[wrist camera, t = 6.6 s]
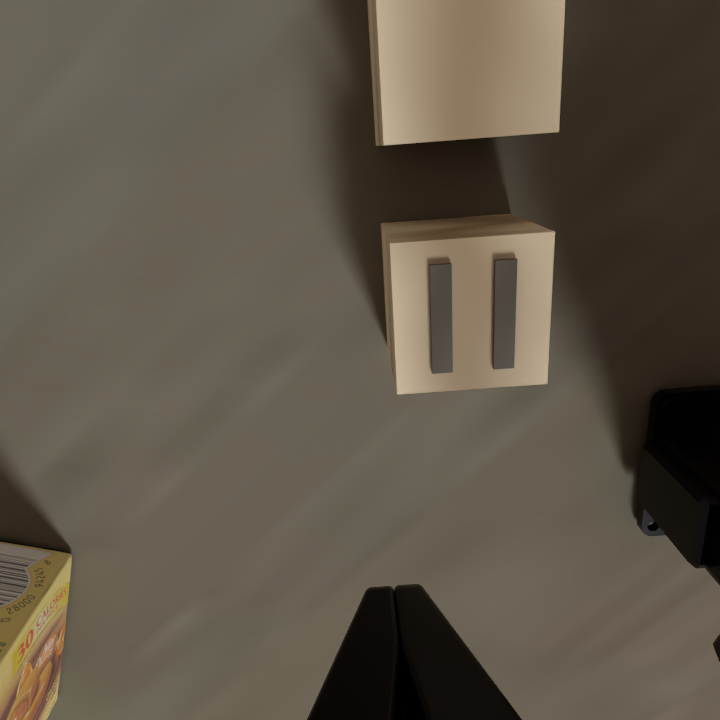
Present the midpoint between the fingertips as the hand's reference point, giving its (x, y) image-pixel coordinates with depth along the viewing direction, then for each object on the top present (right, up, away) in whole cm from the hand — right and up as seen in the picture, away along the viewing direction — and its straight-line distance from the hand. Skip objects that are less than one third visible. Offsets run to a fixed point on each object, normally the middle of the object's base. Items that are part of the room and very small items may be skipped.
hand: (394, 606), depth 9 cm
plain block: (+2, +13, +9) cm, 16 cm away
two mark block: (+3, +7, +12) cm, 14 cm away
